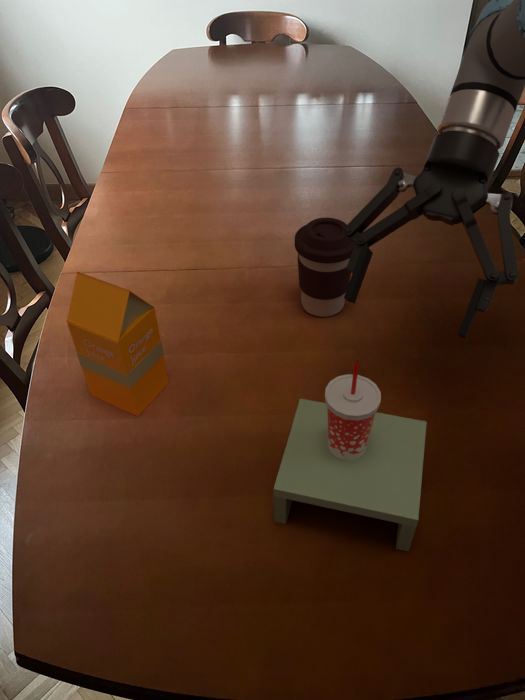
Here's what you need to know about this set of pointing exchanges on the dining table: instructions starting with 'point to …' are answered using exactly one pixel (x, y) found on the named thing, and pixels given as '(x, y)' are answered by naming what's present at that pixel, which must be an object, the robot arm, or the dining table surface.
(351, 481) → the shelf
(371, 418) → the beverage cup
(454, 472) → the dining table surface
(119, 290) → the orange juice
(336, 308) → the coffee cup
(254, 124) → the dining table surface
